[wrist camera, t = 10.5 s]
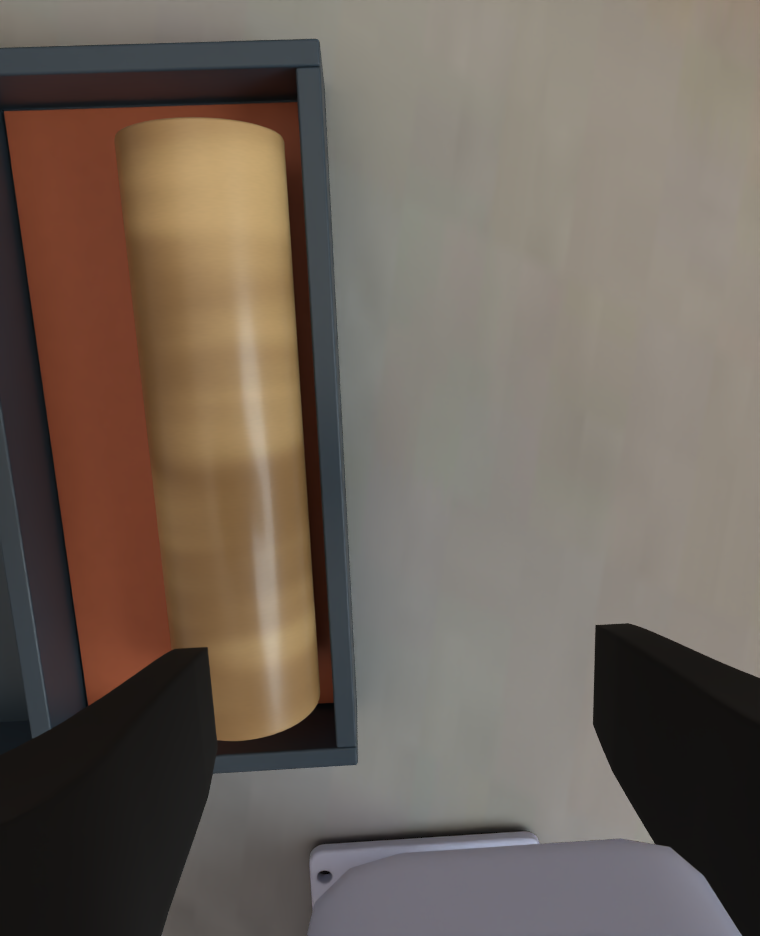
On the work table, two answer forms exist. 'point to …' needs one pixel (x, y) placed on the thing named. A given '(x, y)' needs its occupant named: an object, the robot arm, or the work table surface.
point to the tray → (139, 380)
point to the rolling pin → (224, 408)
